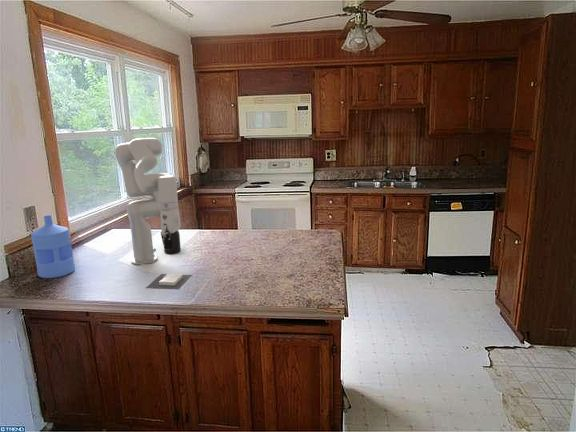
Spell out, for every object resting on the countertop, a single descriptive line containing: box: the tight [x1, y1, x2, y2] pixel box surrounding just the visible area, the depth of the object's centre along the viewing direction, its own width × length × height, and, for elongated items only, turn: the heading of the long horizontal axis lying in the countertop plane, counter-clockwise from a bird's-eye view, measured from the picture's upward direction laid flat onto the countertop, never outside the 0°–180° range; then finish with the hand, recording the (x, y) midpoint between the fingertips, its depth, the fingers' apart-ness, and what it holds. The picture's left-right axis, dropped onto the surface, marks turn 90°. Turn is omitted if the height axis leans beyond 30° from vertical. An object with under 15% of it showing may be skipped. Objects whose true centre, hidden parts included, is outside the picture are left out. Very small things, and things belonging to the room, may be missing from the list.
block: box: [159, 273, 184, 286], centre depth 175 cm, size 9×2×7 cm
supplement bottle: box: [163, 230, 182, 256], centre depth 170 cm, size 7×7×12 cm
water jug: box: [30, 215, 76, 279], centre depth 187 cm, size 16×16×28 cm
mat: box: [145, 273, 193, 290], centre depth 176 cm, size 16×15×1 cm
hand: (172, 245), depth 170 cm, fingers closed on supplement bottle, 6 cm apart
